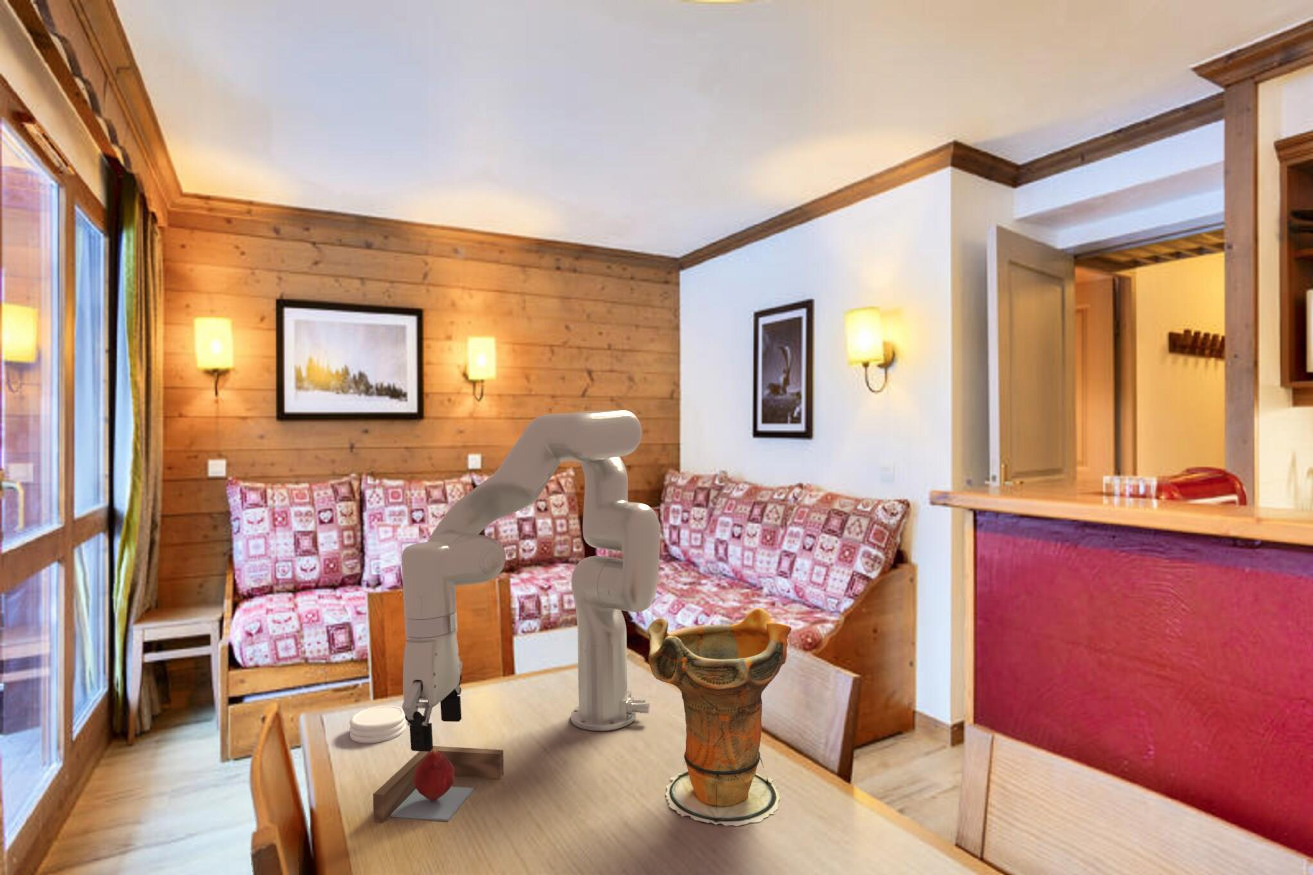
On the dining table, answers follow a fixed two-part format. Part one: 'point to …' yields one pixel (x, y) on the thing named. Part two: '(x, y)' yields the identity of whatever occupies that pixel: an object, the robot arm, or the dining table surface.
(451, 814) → the pad
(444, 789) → the onion
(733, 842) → the dining table surface
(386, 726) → the coaster
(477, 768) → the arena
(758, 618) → the decorative vase
